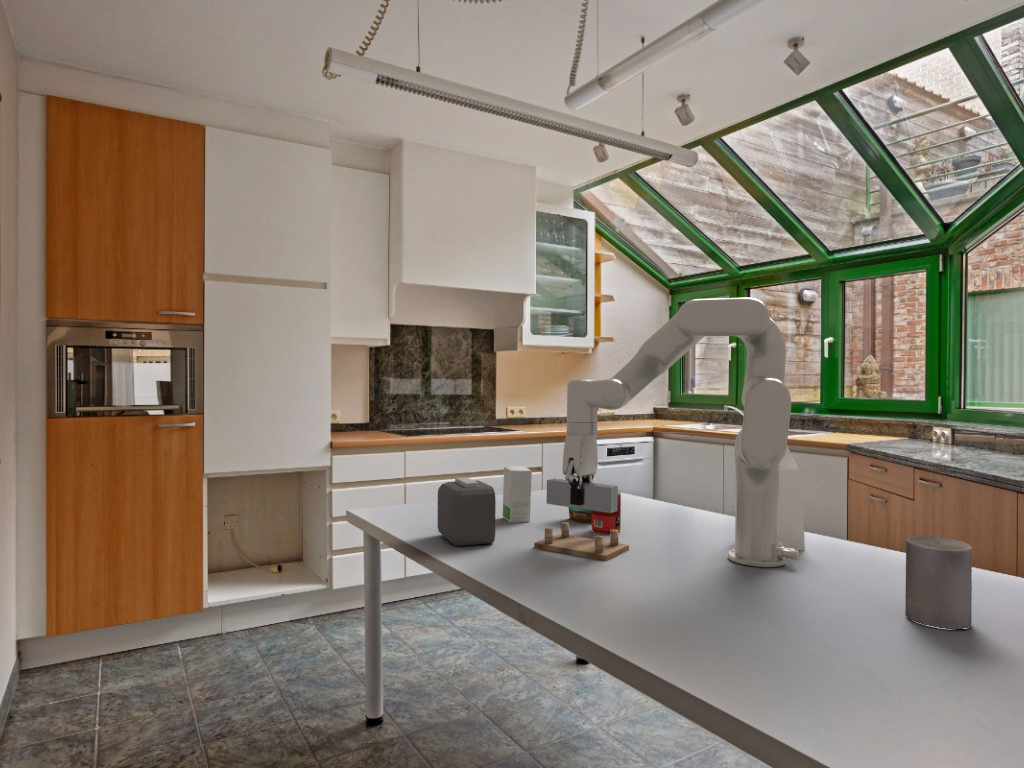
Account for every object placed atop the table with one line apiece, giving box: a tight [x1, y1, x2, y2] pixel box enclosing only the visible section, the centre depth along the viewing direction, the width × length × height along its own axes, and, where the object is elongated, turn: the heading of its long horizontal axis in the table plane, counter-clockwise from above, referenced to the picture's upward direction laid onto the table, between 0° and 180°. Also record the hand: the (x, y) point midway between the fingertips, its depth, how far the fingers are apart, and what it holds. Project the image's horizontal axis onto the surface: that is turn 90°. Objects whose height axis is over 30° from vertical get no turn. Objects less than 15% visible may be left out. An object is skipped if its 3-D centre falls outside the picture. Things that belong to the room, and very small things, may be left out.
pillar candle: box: [904, 534, 973, 629], centre depth 113 cm, size 10×10×15 cm
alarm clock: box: [437, 476, 497, 547], centre depth 169 cm, size 16×11×16 cm
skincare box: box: [502, 465, 533, 524], centre depth 194 cm, size 8×7×16 cm
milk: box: [779, 445, 806, 551], centre depth 167 cm, size 12×12×26 cm
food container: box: [568, 507, 592, 524], centre depth 192 cm, size 12×6×10 cm, turn 73°
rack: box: [533, 521, 630, 562], centre depth 161 cm, size 20×12×5 cm, turn 55°
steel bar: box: [546, 477, 619, 513], centre depth 161 cm, size 18×4×6 cm, turn 55°
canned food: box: [591, 490, 622, 535], centre depth 180 cm, size 8×8×11 cm
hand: (580, 502), depth 161 cm, fingers closed on steel bar, 3 cm apart
